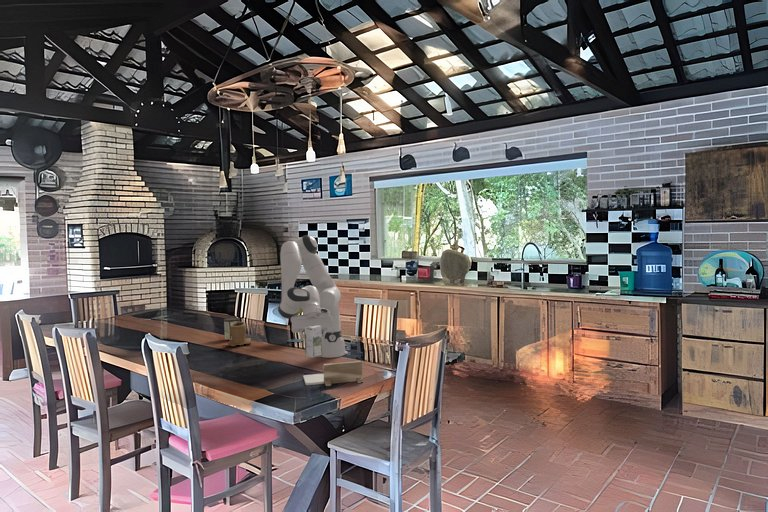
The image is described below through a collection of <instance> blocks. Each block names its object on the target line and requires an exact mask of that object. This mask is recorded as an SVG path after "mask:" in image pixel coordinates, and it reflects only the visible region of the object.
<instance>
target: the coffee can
mask: <svg viewBox="0 0 768 512" xmlns="http://www.w3.org/2000/svg"><path fill="white" fill-rule="evenodd" d="M236 322H241V321H240V317H227V318H224V319H223V327H224V329H223V330H224V340H225V339H232V337H231V335H230V329H229V328H230V325H231V324H232V323H236Z"/></svg>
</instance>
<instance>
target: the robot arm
mask: <svg viewBox="0 0 768 512" xmlns="http://www.w3.org/2000/svg"><path fill="white" fill-rule="evenodd" d="M318 246H319V245H318V242H317V240H316V238H315V237H314V235H313V236H312V235H310V234H305V235H303V236H301V237H299V238H297V239H294V240H287V241H285V242H283V244H282V245H281V247H280V251H279V259H280V270H281V271H280V272H281V273H280V274H281V275H280V277H281V278H280V279H281V285H280V286H281V287H280V289H281V290H280V292H281V293H280V302H279V305H278V307H277V311H278V313H279V315H280V316H281V317H282V318H284V319H289V320H290V323H291V332H292V333H293V334H294V333H295V334H298V333H299V335H300V336H301V340H305V334H304V333H305V327H306V326H311V325H319V326H321V331H322V356H318V358H327V359H328V358H331V359H332V358H339V357H343V356H345V355H348V354H349V353H348V351H347V350H346V344H345V339H344V338H342V335H343V334H342V330H341V314H340V308H339V305H340V304H339V302H340V301H341V298H342V294H341V291H340V289H339V288H338V286H337V284H336V283H335V281H334V279H333V278H332V277H331V275H330V273H329V272H328V270H327V268H326V266H325V264H324V262H323V259H321V257H320V255H319V254H318V253H317V250H318ZM302 266H303V269H304V271H305V273H306V275H307V277H308V279H309V281H310V283H311V284H312V285H306V286H303V287H297V286H295V284H296V281H297V279H298V277H299V274H300V272H301V270H302ZM300 308H302V309H303V312H302V314H299V315H297V313H298V311H299V309H300Z"/></svg>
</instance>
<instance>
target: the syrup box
mask: <svg viewBox="0 0 768 512" xmlns="http://www.w3.org/2000/svg"><path fill="white" fill-rule="evenodd" d="M304 335H305V339H304V341H305V342H304V346H305V347H304V348H305V350H304V351H305V357H308V358H317V357H318V356H322V331H321V326H319V325H311V326H306V327H305V332H304ZM318 358H319V357H318Z"/></svg>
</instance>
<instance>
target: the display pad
mask: <svg viewBox="0 0 768 512" xmlns="http://www.w3.org/2000/svg"><path fill="white" fill-rule="evenodd" d="M302 378H303V380H304V384H305V386H313V385H315V386H316V385H325V384H324V373H314V374H305V375H304V374H303V377H302Z"/></svg>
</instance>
